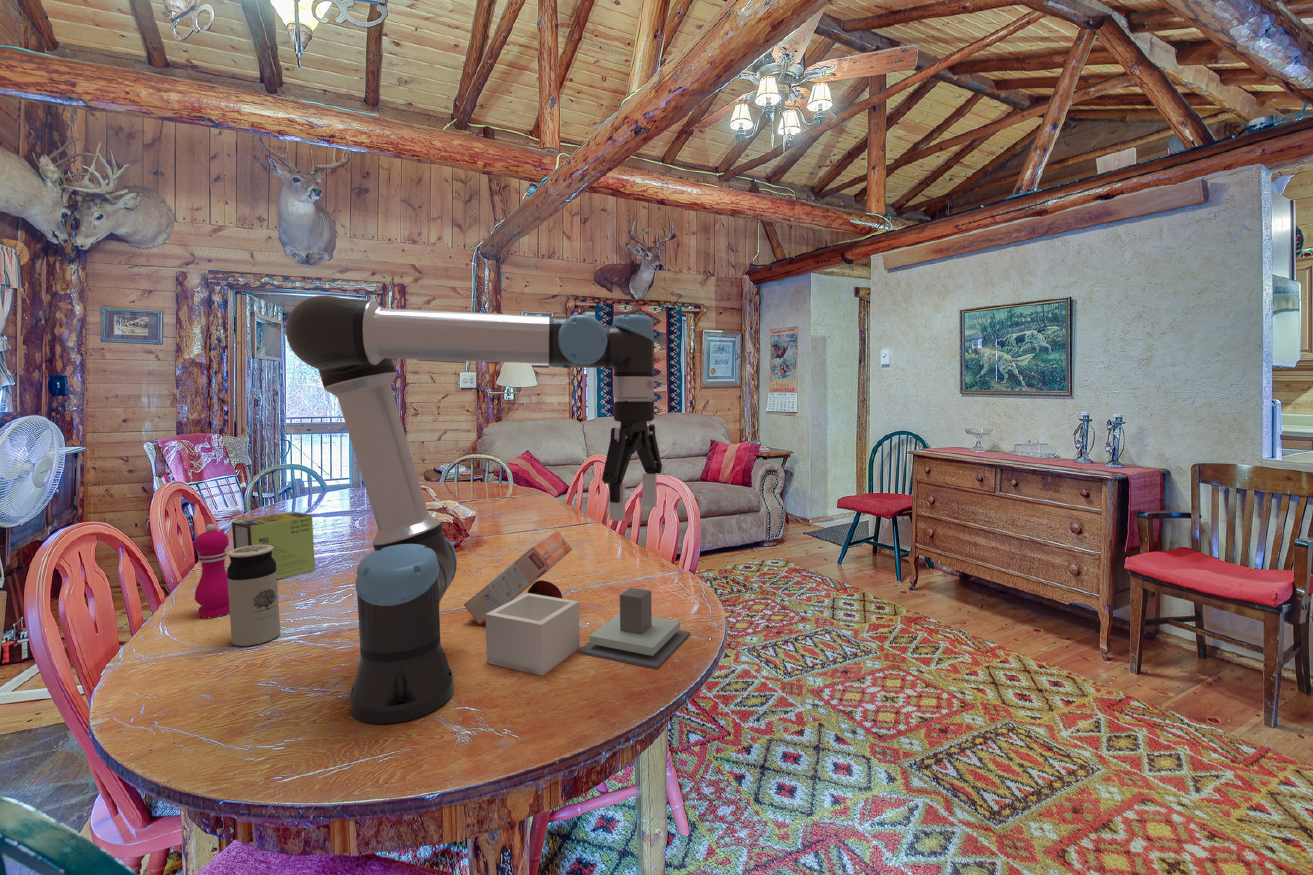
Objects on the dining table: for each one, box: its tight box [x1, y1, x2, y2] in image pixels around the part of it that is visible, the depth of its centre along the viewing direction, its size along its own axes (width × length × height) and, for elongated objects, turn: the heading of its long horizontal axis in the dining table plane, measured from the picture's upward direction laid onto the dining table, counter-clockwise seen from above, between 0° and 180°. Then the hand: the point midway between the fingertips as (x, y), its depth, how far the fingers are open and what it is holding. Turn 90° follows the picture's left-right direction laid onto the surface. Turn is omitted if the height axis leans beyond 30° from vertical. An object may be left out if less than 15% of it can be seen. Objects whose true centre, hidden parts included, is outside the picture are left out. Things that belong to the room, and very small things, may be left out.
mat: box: [578, 629, 691, 670], centre depth 114 cm, size 16×16×1 cm
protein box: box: [231, 510, 316, 580], centre depth 157 cm, size 10×15×16 cm
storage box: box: [485, 592, 581, 677], centre depth 109 cm, size 12×12×9 cm
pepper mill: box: [194, 523, 230, 619], centre depth 130 cm, size 7×7×20 cm
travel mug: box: [226, 545, 281, 647], centre depth 116 cm, size 8×8×18 cm
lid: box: [589, 587, 681, 656], centre depth 113 cm, size 13×13×10 cm
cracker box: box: [463, 530, 573, 626], centre depth 127 cm, size 14×6×21 cm
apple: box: [526, 579, 563, 599], centre depth 127 cm, size 7×8×8 cm
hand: (634, 512), depth 112 cm, fingers open, 13 cm apart
